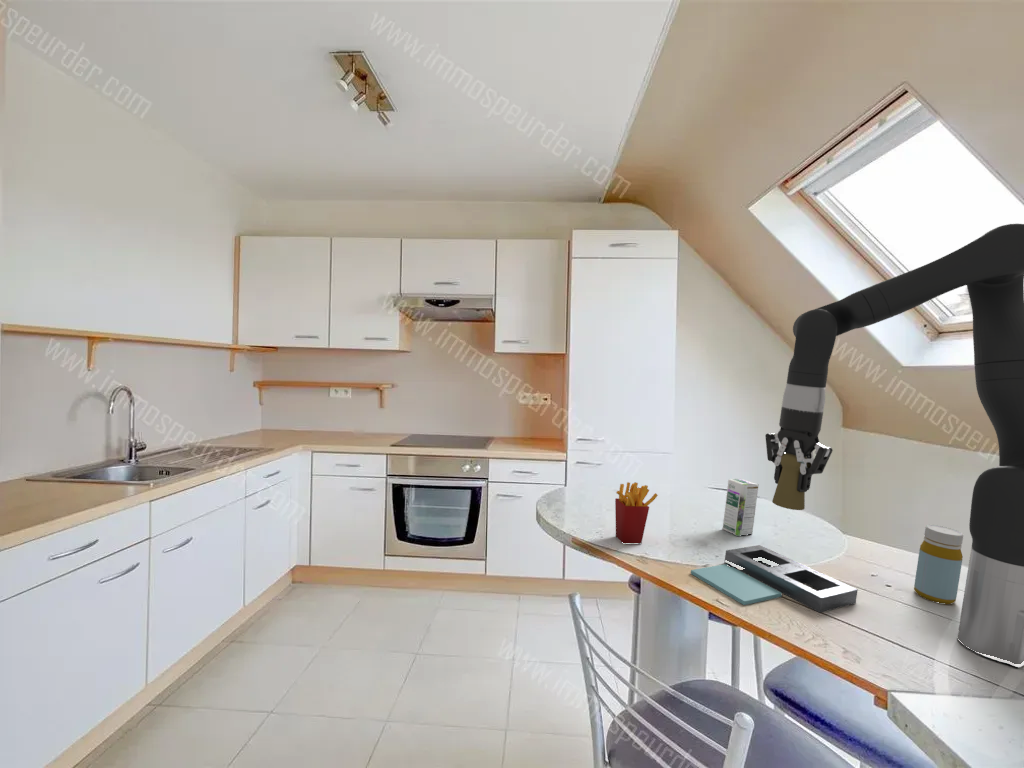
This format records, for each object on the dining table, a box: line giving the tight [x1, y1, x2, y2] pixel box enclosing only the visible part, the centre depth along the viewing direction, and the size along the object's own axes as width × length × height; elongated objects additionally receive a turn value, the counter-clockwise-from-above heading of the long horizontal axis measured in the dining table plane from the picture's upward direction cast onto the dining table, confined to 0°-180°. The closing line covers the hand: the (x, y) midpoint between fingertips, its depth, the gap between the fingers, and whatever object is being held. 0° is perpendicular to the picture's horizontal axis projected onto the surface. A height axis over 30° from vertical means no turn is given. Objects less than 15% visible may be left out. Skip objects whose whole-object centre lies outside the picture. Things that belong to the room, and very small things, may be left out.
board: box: [690, 563, 783, 606], centre depth 108 cm, size 14×11×1 cm
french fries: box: [614, 481, 659, 544], centre depth 129 cm, size 9×8×15 cm
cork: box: [771, 453, 808, 511], centre depth 106 cm, size 6×6×11 cm
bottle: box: [913, 524, 964, 605], centre depth 109 cm, size 7×7×15 cm
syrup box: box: [722, 478, 759, 537], centre depth 140 cm, size 6×6×14 cm
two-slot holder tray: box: [724, 544, 858, 614], centre depth 111 cm, size 23×12×3 cm, turn 26°
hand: (790, 487), depth 106 cm, fingers closed on cork, 4 cm apart
